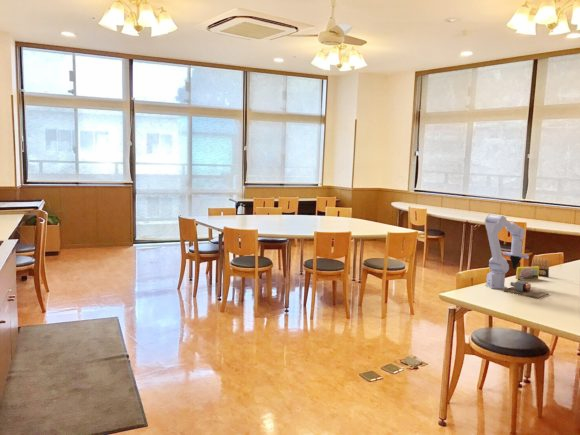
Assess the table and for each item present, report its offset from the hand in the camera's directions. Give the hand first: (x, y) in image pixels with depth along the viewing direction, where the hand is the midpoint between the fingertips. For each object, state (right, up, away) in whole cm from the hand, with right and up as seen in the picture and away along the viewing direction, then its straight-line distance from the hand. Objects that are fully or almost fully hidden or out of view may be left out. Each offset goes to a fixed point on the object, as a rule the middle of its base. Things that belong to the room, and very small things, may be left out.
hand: (514, 268), depth 290 cm
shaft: (-6, -10, -18) cm, 22 cm away
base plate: (-4, -12, -21) cm, 24 cm away
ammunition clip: (+28, -8, +24) cm, 37 cm away
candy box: (+14, -9, +13) cm, 20 cm away
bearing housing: (-5, -12, -19) cm, 23 cm away
